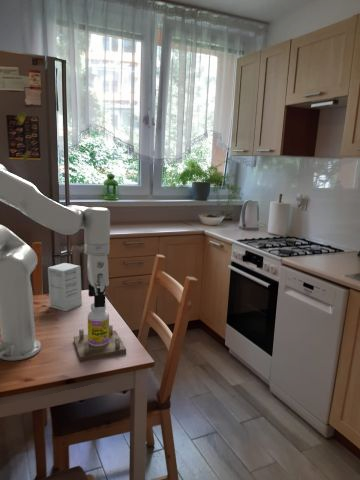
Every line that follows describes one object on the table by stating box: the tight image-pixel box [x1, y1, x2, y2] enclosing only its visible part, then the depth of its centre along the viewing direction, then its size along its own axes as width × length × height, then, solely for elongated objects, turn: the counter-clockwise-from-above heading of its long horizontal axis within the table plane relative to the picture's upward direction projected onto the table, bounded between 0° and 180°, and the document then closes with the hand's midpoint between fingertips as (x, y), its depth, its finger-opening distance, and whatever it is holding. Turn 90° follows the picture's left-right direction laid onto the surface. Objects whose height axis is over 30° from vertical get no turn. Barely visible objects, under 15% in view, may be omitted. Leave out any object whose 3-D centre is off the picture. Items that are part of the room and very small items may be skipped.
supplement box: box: [47, 262, 83, 312], centre depth 150 cm, size 10×9×17 cm
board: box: [73, 324, 127, 363], centre depth 118 cm, size 14×14×4 cm
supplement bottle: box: [87, 302, 110, 347], centre depth 117 cm, size 7×7×13 cm
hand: (96, 301), depth 115 cm, fingers open, 9 cm apart
